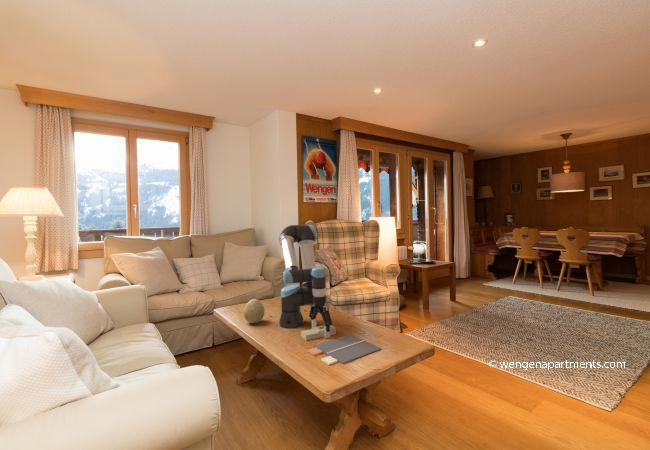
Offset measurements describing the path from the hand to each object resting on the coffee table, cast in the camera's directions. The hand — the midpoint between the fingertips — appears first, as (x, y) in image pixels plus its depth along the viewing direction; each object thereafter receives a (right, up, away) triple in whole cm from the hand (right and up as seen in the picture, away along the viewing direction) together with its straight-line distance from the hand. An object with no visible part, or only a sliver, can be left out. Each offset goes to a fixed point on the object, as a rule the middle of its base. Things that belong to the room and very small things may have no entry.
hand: (320, 333), depth 178 cm
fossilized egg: (-42, -1, +23) cm, 48 cm away
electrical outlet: (-1, -1, -1) cm, 2 cm away
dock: (+11, -1, -20) cm, 23 cm away
